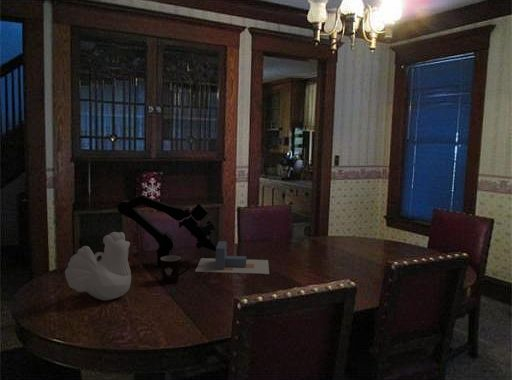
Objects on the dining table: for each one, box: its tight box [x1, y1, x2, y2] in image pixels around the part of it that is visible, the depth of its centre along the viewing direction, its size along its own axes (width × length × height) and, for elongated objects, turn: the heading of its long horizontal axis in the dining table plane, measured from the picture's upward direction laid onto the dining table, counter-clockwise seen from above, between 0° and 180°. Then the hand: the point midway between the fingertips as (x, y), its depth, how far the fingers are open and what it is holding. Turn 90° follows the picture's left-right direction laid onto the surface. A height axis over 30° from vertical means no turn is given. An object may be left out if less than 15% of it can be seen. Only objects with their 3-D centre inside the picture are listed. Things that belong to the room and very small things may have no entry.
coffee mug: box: [160, 255, 190, 285], centre depth 180 cm, size 12×9×10 cm
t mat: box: [194, 257, 270, 275], centre depth 205 cm, size 34×22×1 cm, turn 90°
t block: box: [215, 240, 247, 270], centre depth 205 cm, size 14×14×10 cm
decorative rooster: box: [64, 231, 132, 301], centre depth 159 cm, size 25×16×25 cm, turn 127°
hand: (216, 250), depth 204 cm, fingers closed, pressing on t block
